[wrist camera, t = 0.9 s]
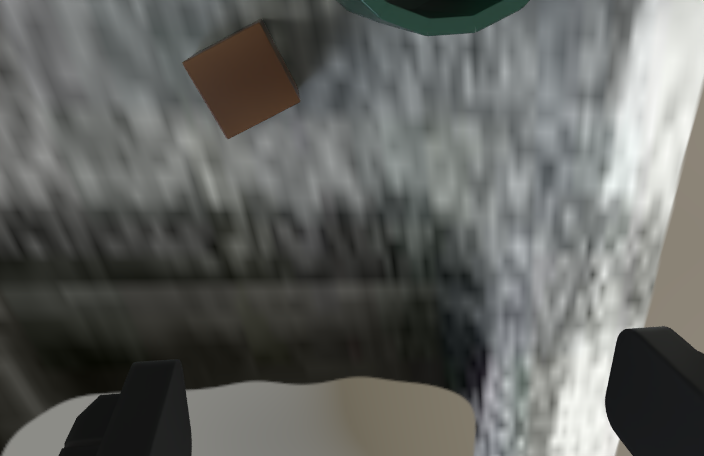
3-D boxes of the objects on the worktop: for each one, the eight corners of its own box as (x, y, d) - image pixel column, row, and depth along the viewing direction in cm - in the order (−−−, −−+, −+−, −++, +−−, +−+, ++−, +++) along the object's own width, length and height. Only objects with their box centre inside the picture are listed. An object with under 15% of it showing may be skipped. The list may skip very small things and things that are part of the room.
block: (193, 54, 30) (181, 62, 26) (261, 18, 29) (259, 21, 26) (233, 122, 31) (227, 139, 28) (298, 89, 31) (301, 101, 27)
